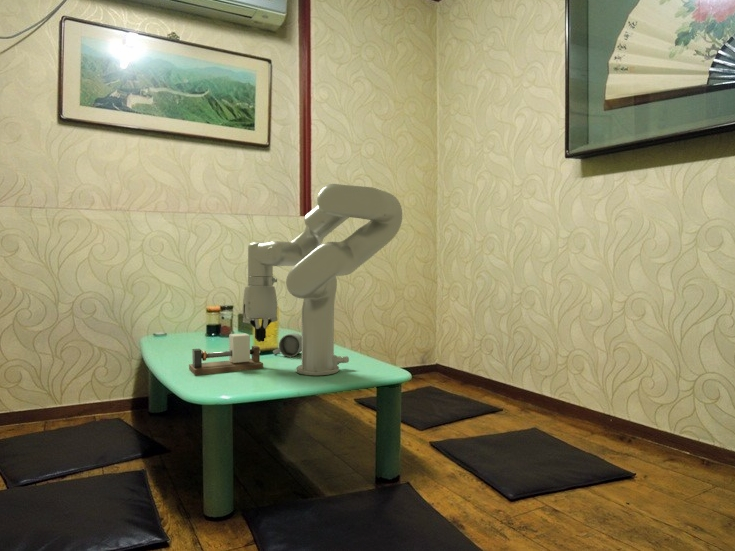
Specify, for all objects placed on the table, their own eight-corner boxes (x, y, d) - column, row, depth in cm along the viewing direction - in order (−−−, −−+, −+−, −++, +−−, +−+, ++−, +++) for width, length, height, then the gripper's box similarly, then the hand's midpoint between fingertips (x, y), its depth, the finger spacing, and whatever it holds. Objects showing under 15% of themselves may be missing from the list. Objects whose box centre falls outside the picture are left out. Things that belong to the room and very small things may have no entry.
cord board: (254, 362, 161) (254, 344, 161) (263, 368, 154) (263, 348, 153) (189, 369, 152) (188, 349, 152) (194, 375, 144) (194, 354, 144)
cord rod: (252, 360, 158) (252, 344, 158) (255, 362, 155) (255, 345, 155) (192, 365, 149) (192, 349, 149) (194, 367, 147) (194, 350, 146)
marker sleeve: (245, 358, 158) (245, 333, 158) (249, 361, 154) (249, 335, 153) (229, 359, 155) (229, 334, 155) (233, 362, 151) (233, 336, 151)
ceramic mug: (306, 352, 179) (305, 331, 179) (300, 357, 171) (299, 334, 171) (277, 352, 180) (276, 331, 180) (269, 357, 172) (269, 334, 172)
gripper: (279, 281, 164) (279, 337, 164) (233, 281, 157) (233, 340, 157) (287, 282, 157) (287, 341, 158) (239, 283, 150) (239, 344, 151)
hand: (260, 340), depth 158 cm, fingers closed
